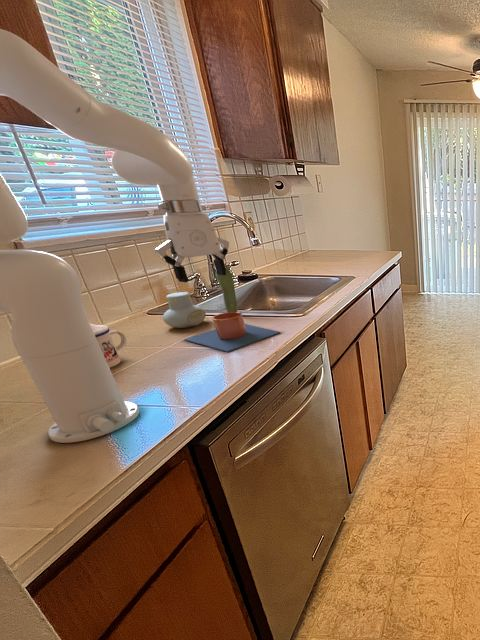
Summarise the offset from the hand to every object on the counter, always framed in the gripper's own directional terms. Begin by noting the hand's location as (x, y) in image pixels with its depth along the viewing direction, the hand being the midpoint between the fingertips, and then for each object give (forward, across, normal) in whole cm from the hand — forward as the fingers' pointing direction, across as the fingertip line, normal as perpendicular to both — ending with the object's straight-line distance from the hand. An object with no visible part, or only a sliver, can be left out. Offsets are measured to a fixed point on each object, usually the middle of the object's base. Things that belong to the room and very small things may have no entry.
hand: (203, 278), depth 104 cm
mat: (+18, +4, +2) cm, 19 cm away
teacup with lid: (+19, -22, +13) cm, 31 cm away
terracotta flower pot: (+18, +4, +2) cm, 18 cm away
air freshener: (+18, +4, +25) cm, 31 cm away
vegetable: (+18, +17, +21) cm, 32 cm away
